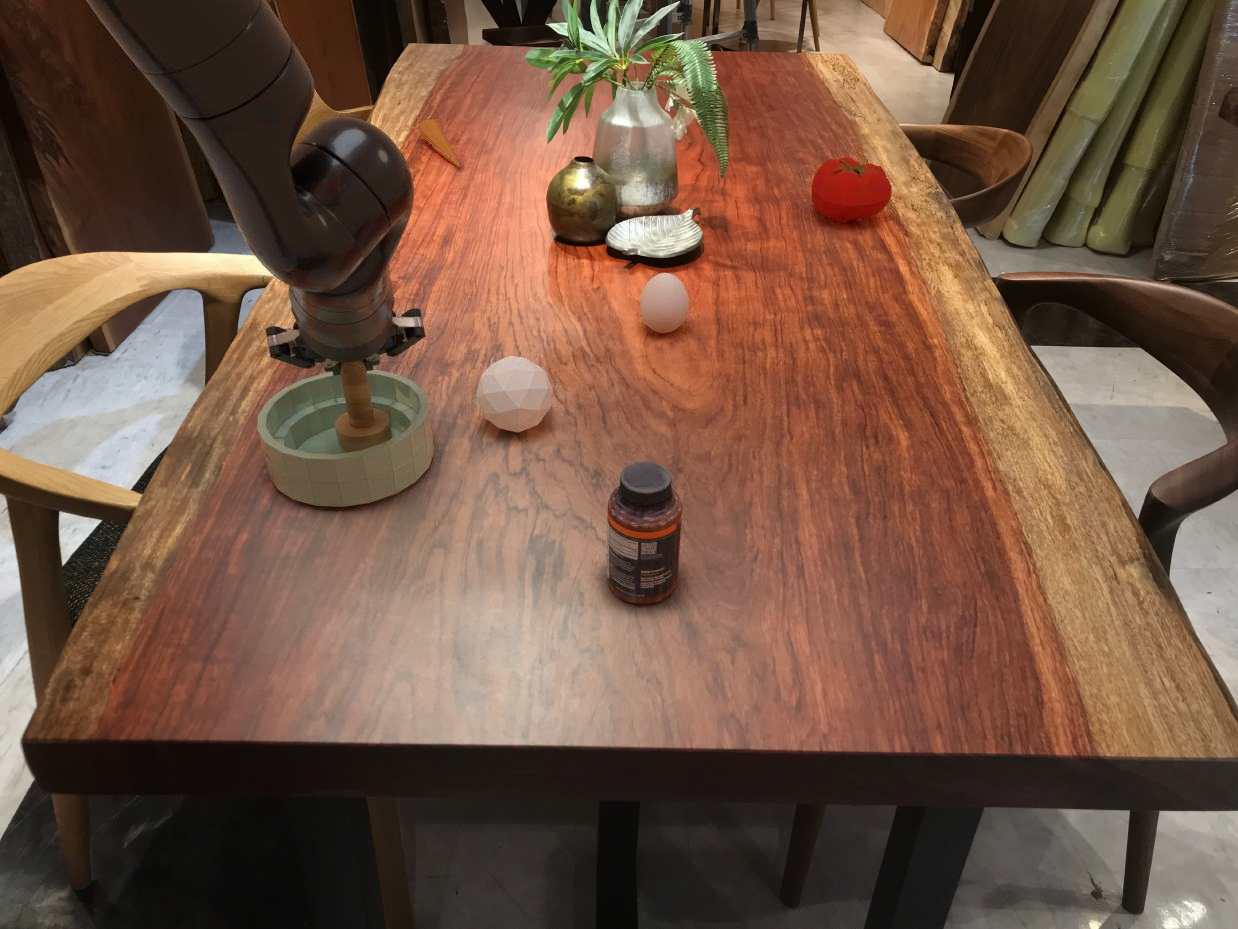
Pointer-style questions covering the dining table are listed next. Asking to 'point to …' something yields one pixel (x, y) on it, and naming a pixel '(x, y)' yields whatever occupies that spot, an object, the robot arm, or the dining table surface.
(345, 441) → the wooden peg on base
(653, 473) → the supplement bottle
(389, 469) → the bowl
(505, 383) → the geometric ball
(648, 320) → the egg
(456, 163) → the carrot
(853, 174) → the tomato
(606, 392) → the dining table surface
